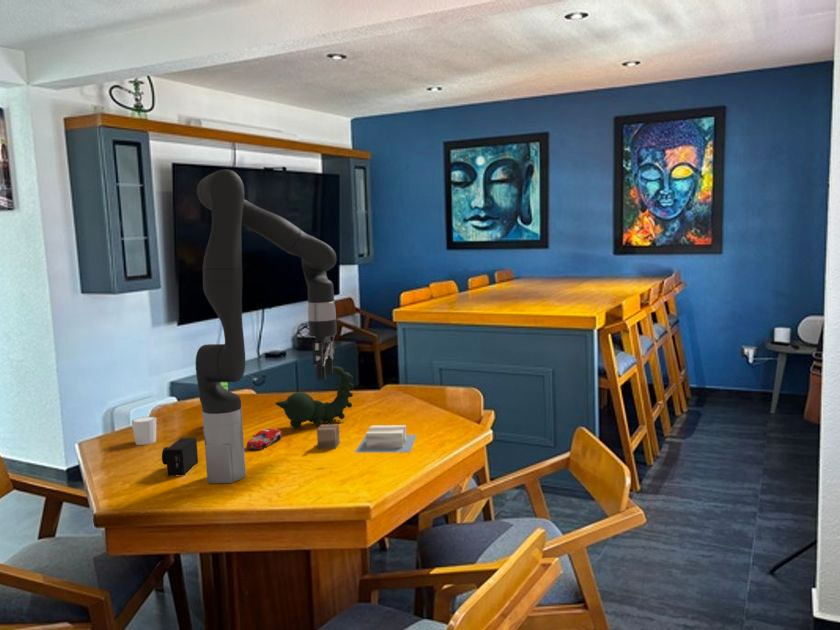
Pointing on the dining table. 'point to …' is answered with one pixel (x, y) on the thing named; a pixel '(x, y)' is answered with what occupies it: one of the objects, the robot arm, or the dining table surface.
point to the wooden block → (386, 436)
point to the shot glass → (144, 430)
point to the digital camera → (180, 456)
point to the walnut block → (328, 436)
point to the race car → (264, 438)
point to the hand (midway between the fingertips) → (325, 376)
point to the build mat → (406, 448)
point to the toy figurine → (318, 404)
